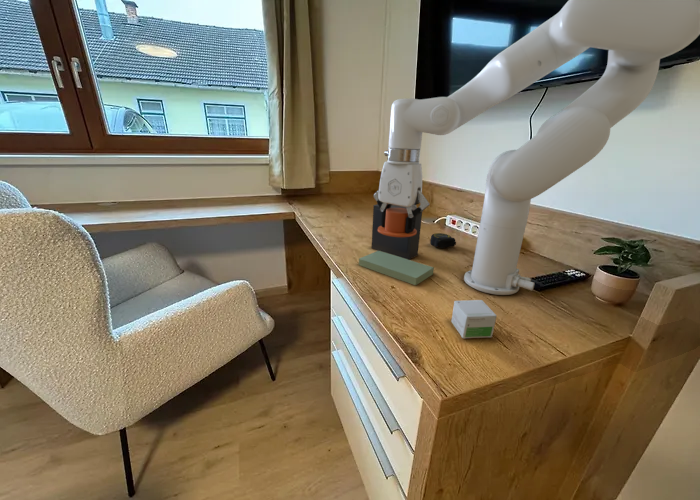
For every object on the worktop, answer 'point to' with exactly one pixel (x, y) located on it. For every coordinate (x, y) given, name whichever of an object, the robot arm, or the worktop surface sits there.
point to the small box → (473, 319)
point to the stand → (396, 267)
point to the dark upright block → (395, 245)
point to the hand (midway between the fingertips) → (397, 228)
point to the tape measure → (442, 240)
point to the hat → (396, 223)
